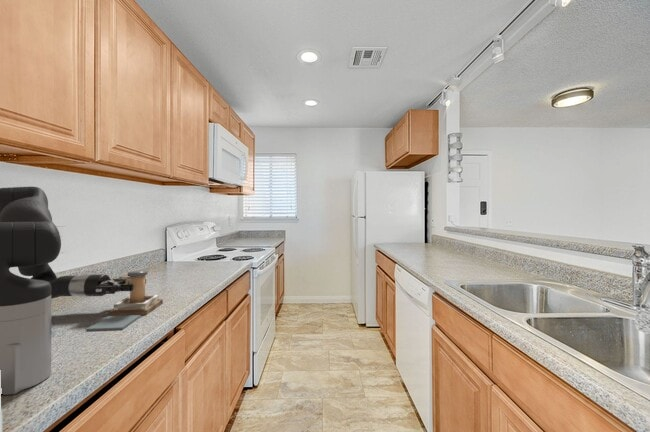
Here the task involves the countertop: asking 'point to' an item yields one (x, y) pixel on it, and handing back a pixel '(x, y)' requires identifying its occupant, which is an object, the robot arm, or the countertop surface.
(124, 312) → the square wooden tray
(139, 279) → the cable spool
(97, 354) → the countertop surface
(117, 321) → the slate mat
